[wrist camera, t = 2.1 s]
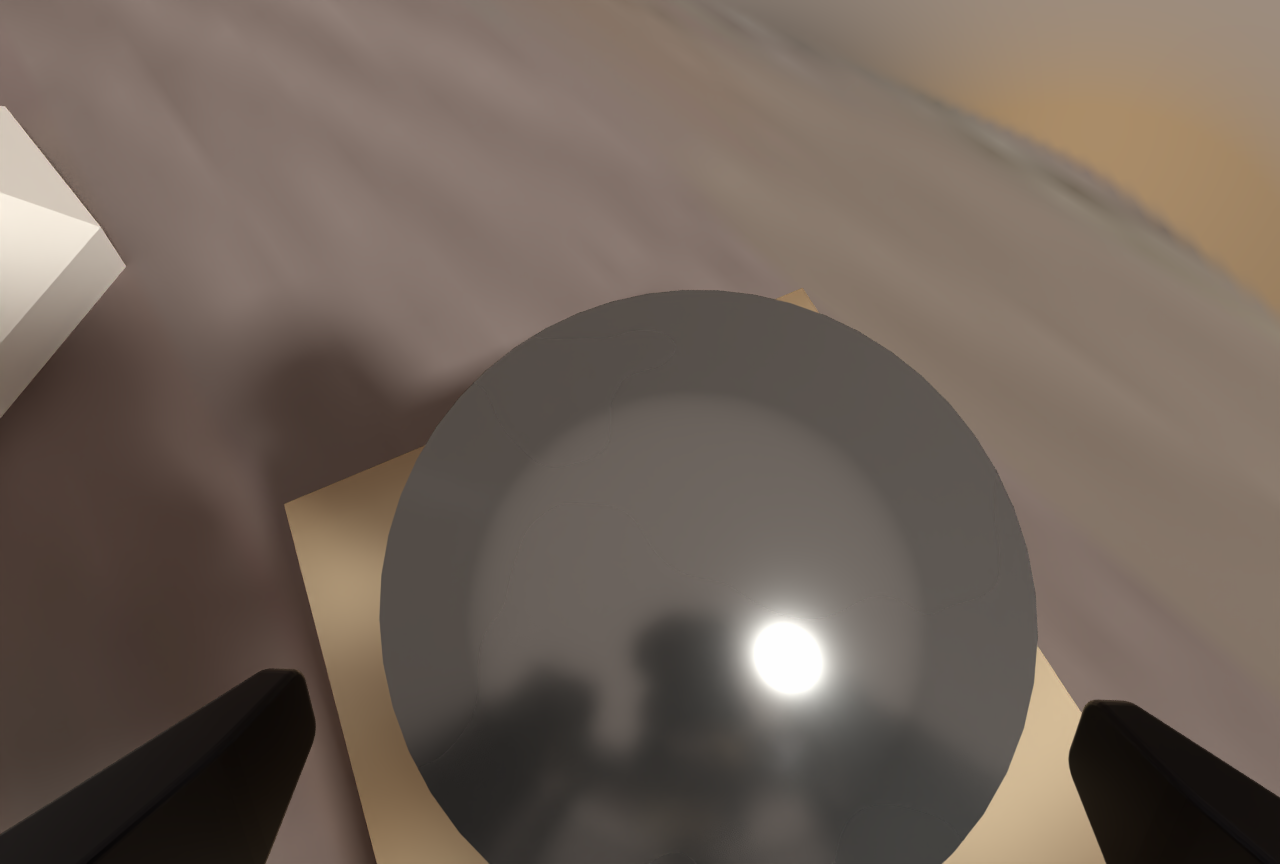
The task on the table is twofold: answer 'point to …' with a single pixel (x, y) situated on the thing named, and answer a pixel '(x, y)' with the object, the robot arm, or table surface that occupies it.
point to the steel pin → (707, 597)
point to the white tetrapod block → (42, 260)
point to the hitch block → (419, 828)
